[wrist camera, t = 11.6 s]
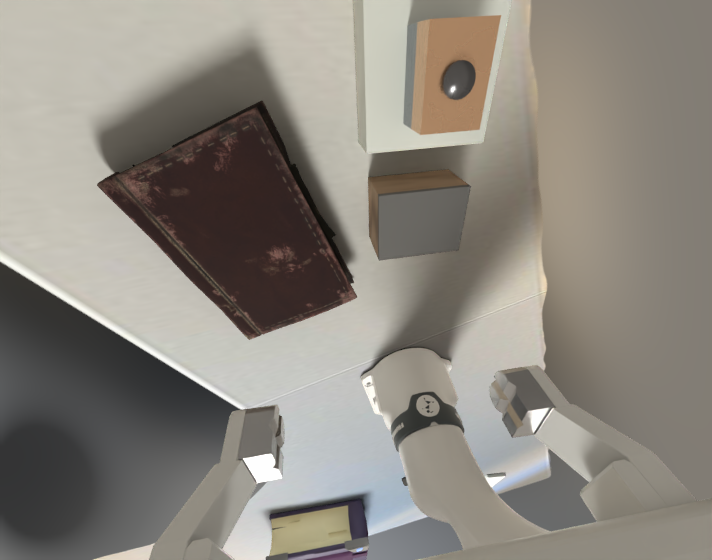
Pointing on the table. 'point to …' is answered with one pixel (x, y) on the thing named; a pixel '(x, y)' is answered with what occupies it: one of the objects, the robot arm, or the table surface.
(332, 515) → the book
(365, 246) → the table surface
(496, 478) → the external hard drive
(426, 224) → the walnut stand
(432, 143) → the grey stand
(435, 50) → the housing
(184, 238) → the diary
